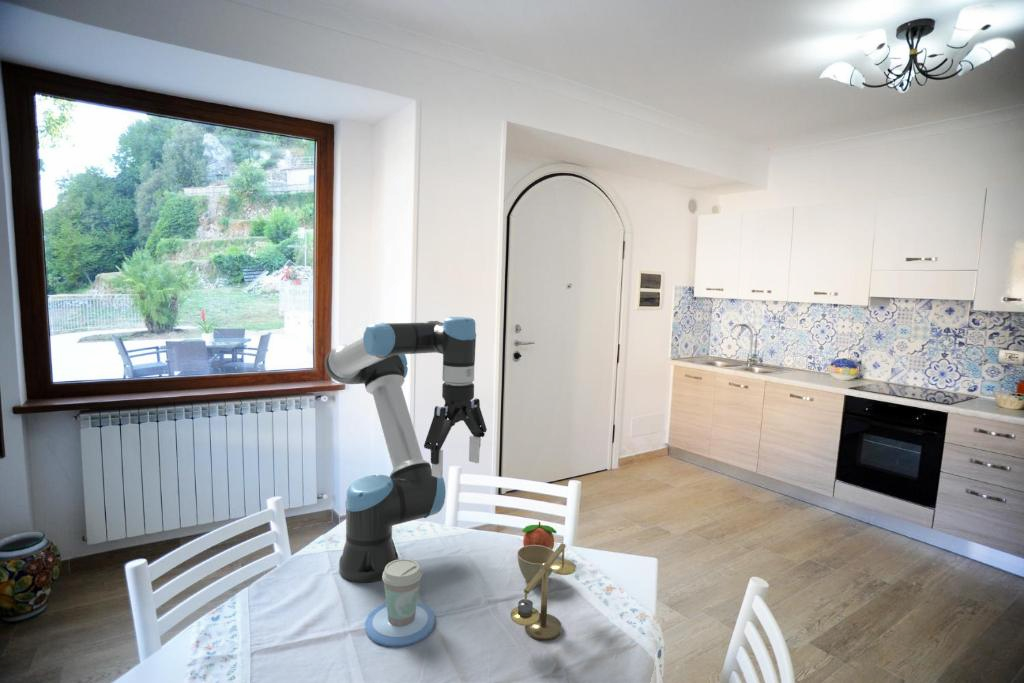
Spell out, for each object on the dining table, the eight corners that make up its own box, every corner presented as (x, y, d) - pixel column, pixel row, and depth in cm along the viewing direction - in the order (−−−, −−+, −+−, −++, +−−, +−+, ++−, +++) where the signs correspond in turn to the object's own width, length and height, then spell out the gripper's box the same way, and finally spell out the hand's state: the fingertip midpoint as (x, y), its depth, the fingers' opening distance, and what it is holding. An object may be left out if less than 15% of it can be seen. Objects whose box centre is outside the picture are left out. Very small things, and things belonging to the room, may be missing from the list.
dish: (350, 628, 122) (350, 622, 121) (401, 597, 134) (401, 592, 134) (399, 656, 113) (399, 651, 113) (448, 620, 125) (448, 615, 125)
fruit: (523, 547, 161) (524, 514, 160) (556, 550, 159) (558, 517, 158) (519, 562, 152) (521, 527, 151) (554, 565, 151) (556, 530, 150)
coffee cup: (387, 634, 118) (388, 581, 117) (377, 612, 125) (377, 562, 124) (426, 624, 122) (427, 572, 120) (414, 603, 129) (414, 554, 128)
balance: (500, 647, 117) (502, 570, 115) (551, 600, 135) (555, 533, 133) (532, 663, 113) (535, 584, 111) (581, 612, 130) (585, 543, 128)
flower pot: (552, 593, 138) (553, 566, 137) (512, 587, 140) (513, 560, 139) (557, 573, 147) (558, 547, 147) (520, 567, 149) (521, 542, 148)
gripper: (434, 392, 120) (432, 487, 122) (502, 377, 140) (499, 459, 143) (409, 387, 124) (407, 479, 127) (478, 373, 144) (476, 453, 147)
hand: (456, 469), depth 135 cm, fingers open, 13 cm apart
